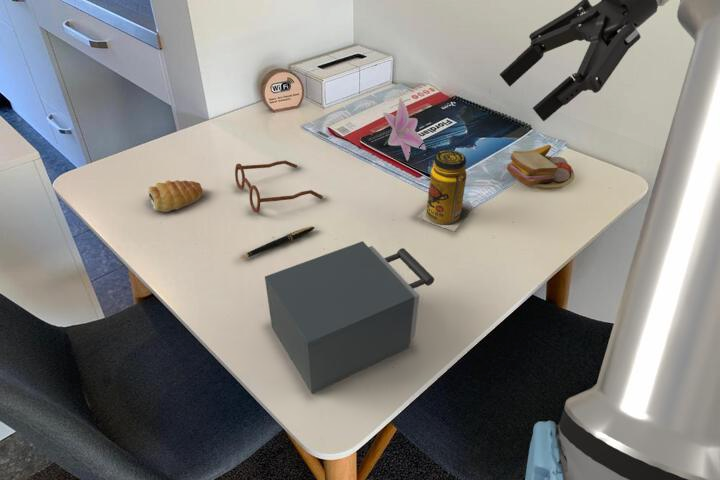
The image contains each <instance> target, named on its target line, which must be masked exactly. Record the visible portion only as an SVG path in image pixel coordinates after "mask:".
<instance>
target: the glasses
mask: <svg viewBox="0 0 720 480" xmlns="http://www.w3.org/2000/svg"><path fill="white" fill-rule="evenodd" d="M279 165H287V166H289V167H290V168H294V169H297V168H298V164H295V163H293V162H291V161H288V160H278V161H277V160H276V161H274V162H271V163H265V164H264V163H263V164H247V165H242V164H241V163H236V165H235V167H234V179H235V182H236V186H237V188H238V189H239V190H243V189H244V188H245V185H246V186H247V188H248V189H249V195H248V196H249V205H250V207H251V210H252V212H254V213H259V212H260V209H261V203H269V202H279V201H280V202H281V201H288V200H295V199H297V198H299V197H301V196H302V197H303V196H305V195H306V196H307V195H311V196H314V197H316V198H318V199H320V200H323V198H324V196H323V195H322V194H320V193H318V192H316V191H314V190H312V189H309V190H304V191H300V192H297V193H295V194H292V195H283V196H282V195H281V196H272V197H271V196H270V197H263V198H262V197H261V194H260V192H259V189H258V187H257V186H256V184H255V185H254V184H253V185H252V184H251V183H250V180H249V179H248V178H247V177H246V174H245V170H253V169H254V170H255V169H268V168H269V169H270V168H272V167H275V166H279ZM239 170H240V173H241V184H240V180H239ZM253 192H255V196H256V200H257V201H256V207H255V204H254V201H253Z"/></svg>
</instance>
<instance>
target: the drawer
mask: <svg viewBox="0 0 720 480" xmlns="http://www.w3.org/2000/svg"><path fill="white" fill-rule="evenodd" d="M368 247H369V248H370V249H371V251H372V252H373V253H374V254H375V255H376V256H377V257H378V258H379V259H380V260H381V261H382V262H383V263H384V264H385V266H386V267H387V268H388V269H389V270H390V271H391V272H392V273H393V274H394V275H395V276H396V277H397V278H398V279H399V281H400V282H401V283H402V284H403V285H404V286H405V287H406V288H407V289H408V290H409V291H410V292H411V293H412V294H413V296H414V297H415V299H414V309H413V318H412V328H411V337H410V340H411V339H413V338H415V337H416V329H417V319H418V313H419V312H418V311H419V302H420V294H419V293H418V292H416V290H415V289H416V288H419V287H421V286H424V285H425V286H427V287H429V286H431V285H432V284H434V282H435V277H434V276H433V275H432V274H431V273H429V271H427V269H426V268H425V267H424V266H422V265H421V263H420V262H419V261H417V259H416V258H415V257H413V255H412V254H411V253H409V252H408V251H407V250H406V248H404V247H402V248H400V249H398V250H397V252H396V253H394V254H391V255H389V256H387V257H384V256H383V255H382V254H381V253H380V252H379V251H378V250H377V249H376V248H375V247H374V246H373V245H371V246H368ZM399 259H400V260H401V261H402V262H403V263H404V264H405V265H406V266H407V267H408V268H409V270H411V271H412V273H413V274H415V276H416V277H417V278H418V280H415V281H413V282H410V283H408V282H407V280H405V279H404V277H402V276H401V274H400V273H398V271H397V270H396V269H395V268H394V267H393V266H392V265H391V262H395V261H397V260H399Z"/></svg>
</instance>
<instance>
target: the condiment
mask: <svg viewBox="0 0 720 480" xmlns="http://www.w3.org/2000/svg"><path fill="white" fill-rule="evenodd" d="M466 164H467V157H466V156H465V155H464V154H463V153H461V152H460V151H458V150H457V151H456V150H452V149H447V150H441V151H438V152H437V153H436V154H434V159H433V163H432V168H431V169H430V176H429V185H428V186H429V187H428V195H427V202H426V203H427V205H426V208H425V209H424V210H423V211H422V212H421V213H420V214H419V215H418V216H417V218H418V219H420V220H423V221H425V222H427V223H430V224H433V225H435V226H437V227H440V228H443V229H447V230H449V231H452V232H455V231H456V230H457V229H459V227H460V226H461V225H462V224H463V222H464V221H465V220H466V218H467V217H468V216H469V215H470V214H471V213H472V212H473V210H475V207H474V206H469V205H466V204H463V203H464V202H463V201H464V194H465V187H466V181H467V170H466V168H467V166H466Z"/></svg>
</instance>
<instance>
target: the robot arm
mask: <svg viewBox="0 0 720 480" xmlns="http://www.w3.org/2000/svg"><path fill="white" fill-rule="evenodd" d="M669 1H670V0H600V1H599V2H598V3H596V4H595V5H592V4H591V2H590V1H589V0H581V1H579V2H578V3H577V4H576V5H575V6H573V7H572V8H571V9H569V10H567V11H566V12H564V13H562V14H561V15H559V16H558V17H556V18H554V19H553V20H551V21H549V22H547V23H546V24H544V25H543V26H541V27H539V28H538V29H536V30H534V31H533V32H531V33H530V34H529V36H528V38H529V39H530V45H529V46H528V47H527V48H526V49H525V50H524V51H522V52H521V53H520V54H519V55H518V56H517V57H516V58H515V59H514V60H513V61H512V62H511V63H510V64H509V65H508V66H507V67H506V68H505V69H503V70H502V71H501V72H500V73H499V76H500V77H501V78H502V80H503V81H504V83H506V84H507V85H508V87H511V86H512V85H514V84H515V83H516V82H517V81H518V80H519V79H520V78H521V77H523V76H524V75H525V74H526V73H527V72H528V71H529V70H530V69H531V68H533V67H534V66H535V65H536V64H537V63H538V62H539V61H540V60H542V59H543V58H544V55H545V53H548V52H550V51H553V50H555V49H557V48H560V47H563V46H564V45H567V44H570V43H573V42H575V41H580V42H582V41H586V42H588V43H589V45H588V47H587V50H586V51H585V53H584V56H583V58H582V61H581V63H580V64H579V67H578V70H577V71H576V72H575V73H572V74H571V75H569V76H567V78H565V79H564V80H563V81H562V82H561V83H559V84H558V85H557V86H556V87H555V88H554V89H552V90H551V91H550V92H549V93H548V94H546V95H545V96H544V97H543V98H542V99H541V100H540V101H538V103H536V104H535V105H534V106H533V107H532V110H533V111H534V112H535V113H536V115H537V116H538V117H539V118H540V119H541V120H542V122H545V121H546V120H548V119H549V118H550V117H551V116H553V115H554V113H556V112H557V111H558V110H559V109H561V108H562V107H563V106H566V105H568V104H569V103H570V102H572V100H574V99H575V98H576V97H578V96H579V95H580V94H581V93H582V92H586V91H591V92H592V93H594V94H596V93H599V92H600V91H601V90H602V88H603V87H604V86H605V84H606V83H607V81H608V80H609V78H611V75H612V74H613V73H614V71H615V70H616V68H617V67H618V65H619V64H620V63H621V61H622V60H623V58H624V57H625V55H626V54H627V52H628V51H629V49H631V48H632V47H633V46H634V45H635V44H636V43H637V42H638V41H639V40H640V39H641V38H642V37H641V34H640V32H639V30H638V28H639V27H641V26H642V25H643V24H644V23H645V22H646V21H648V20H649V19H650V18H651V17H652V16H653V15H655V14H656V13H657V12H658V7H663V6H665V5H666V4H667V3H668V2H669ZM676 13H677V14H676V17H677V20H678V23H679V24H680V26H681V27H682V28H683V30H684V31H685V32H686V33H687V34H688V35H689V36H690V37H691V38H692V40H693V42H694V45H693V49H692V51H691V56H690V59H689V62H688V65H687V69H686V73H685V76H684V79H683V83H682V87H681V90H680V94H679V97H678V101H677V104H676V107H675V110H674V115H673V118H672V121H671V125H670V128H669V132H668V135H667V139H666V141H665V145H664V148H663V152H662V156H661V159H660V163H659V166H658V170H657V173H656V176H655V179H654V183H653V186H652V190H651V194H650V197H649V201H648V204H647V207H646V211H645V214H644V218H643V222H642V225H641V229H640V232H639V236H638V239H637V242H636V246H635V249H634V253H633V256H632V260H631V263H630V267H629V270H628V274H627V277H626V280H625V284H624V288H623V291H622V294H621V297H620V301H619V304H618V308H617V312H616V315H615V319H614V322H613V325H612V329H611V332H610V337H609V339H608V343H607V346H606V349H605V353H604V357H603V360H602V364H601V366H600V370H599V374H598V378H597V382H596V384H594V385H593V386H592V387H591V388H589V389H587V390H585V391H582V392H580V393H577V394H575V395H573V396H570V397H568V398H567V399H566V400H565V403H564V407H563V410H562V413H561V417H560V420H559V422H558V424H556V422H555V421H552V420H548V421H542V420H541V421H538V422H536V423H534V425H533V429H532V435H531V440H530V443H529V449H528V456H527V463H526V470H525V479H524V480H720V0H680V1H679V4H678V8H677V11H676Z"/></svg>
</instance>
